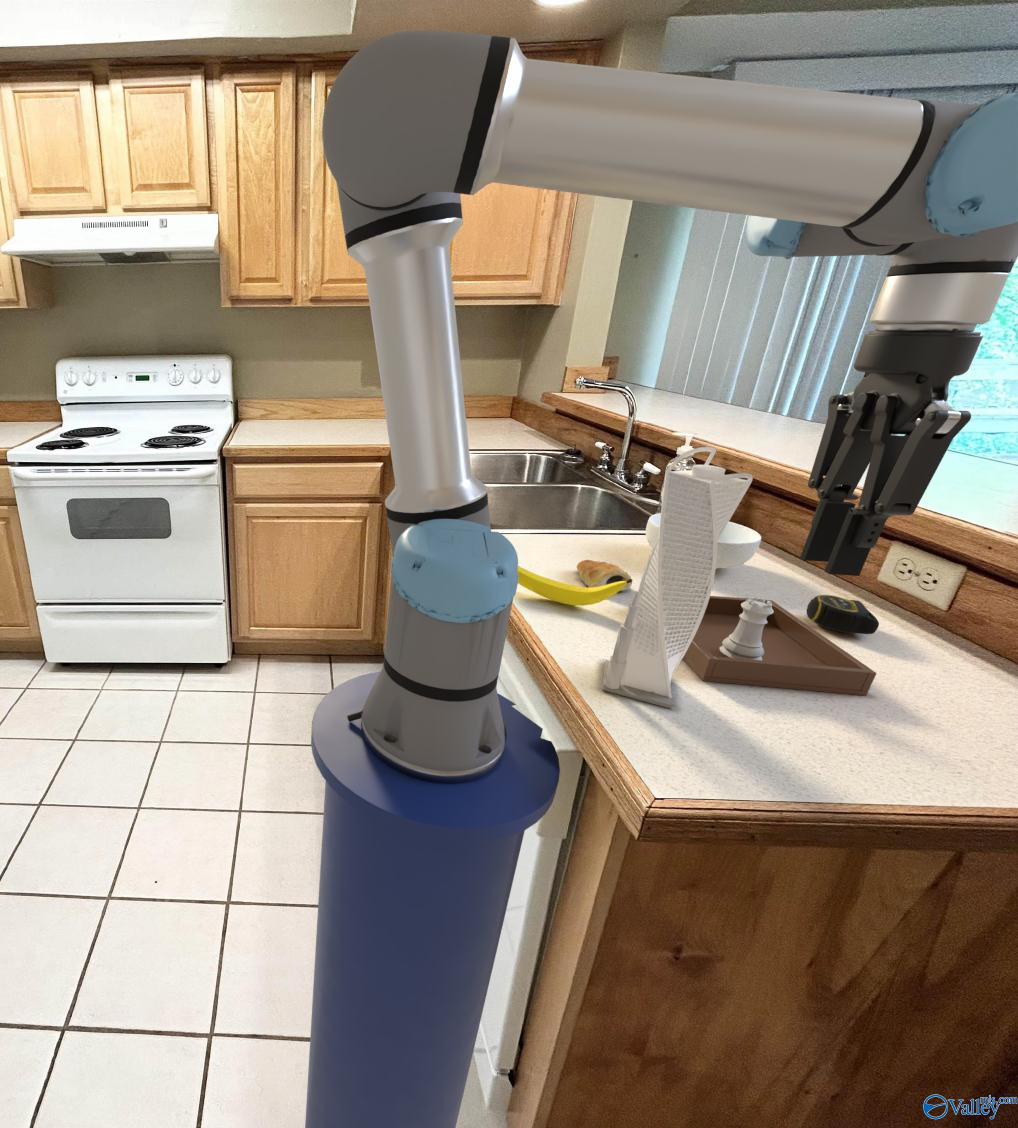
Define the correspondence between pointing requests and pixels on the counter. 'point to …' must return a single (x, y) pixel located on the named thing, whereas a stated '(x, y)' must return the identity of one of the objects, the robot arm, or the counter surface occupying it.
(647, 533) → the cereal bowl
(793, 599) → the counter surface
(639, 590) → the skyscraper
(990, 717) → the counter surface
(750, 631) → the rook chess piece
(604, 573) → the pastry
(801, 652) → the tray
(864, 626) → the tape measure
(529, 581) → the banana
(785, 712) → the counter surface
